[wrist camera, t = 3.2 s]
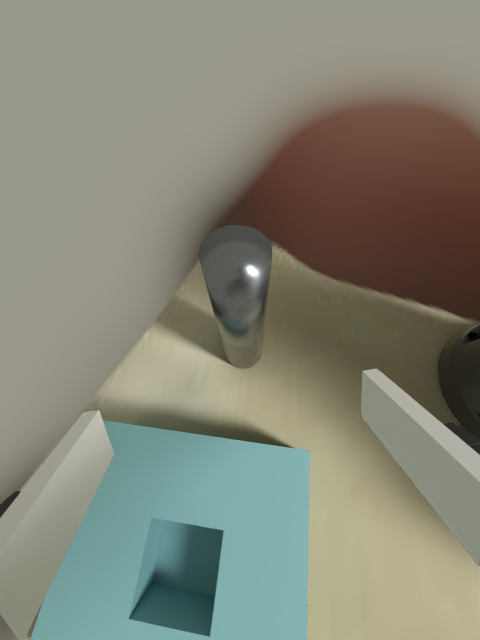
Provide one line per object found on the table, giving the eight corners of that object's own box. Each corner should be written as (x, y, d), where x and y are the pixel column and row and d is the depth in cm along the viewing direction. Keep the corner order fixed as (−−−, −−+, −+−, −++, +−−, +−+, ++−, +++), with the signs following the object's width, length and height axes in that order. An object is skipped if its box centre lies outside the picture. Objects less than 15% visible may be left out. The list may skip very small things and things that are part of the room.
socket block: (297, 449, 27) (309, 450, 21) (288, 720, 19) (303, 828, 14) (131, 425, 28) (104, 420, 23) (61, 665, 21) (-5, 742, 15)
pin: (262, 336, 33) (274, 227, 16) (259, 370, 31) (269, 285, 14) (228, 332, 33) (206, 222, 17) (222, 366, 31) (192, 278, 15)
